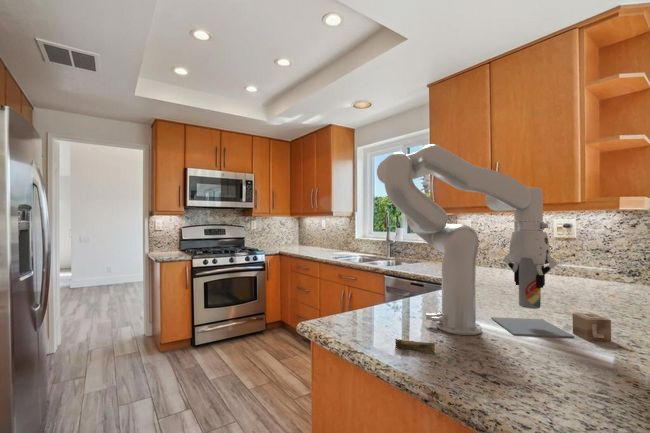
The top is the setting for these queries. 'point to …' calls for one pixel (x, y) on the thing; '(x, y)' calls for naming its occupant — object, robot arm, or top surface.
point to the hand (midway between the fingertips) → (529, 285)
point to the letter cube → (592, 327)
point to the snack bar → (415, 346)
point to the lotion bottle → (528, 285)
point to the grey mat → (531, 327)
